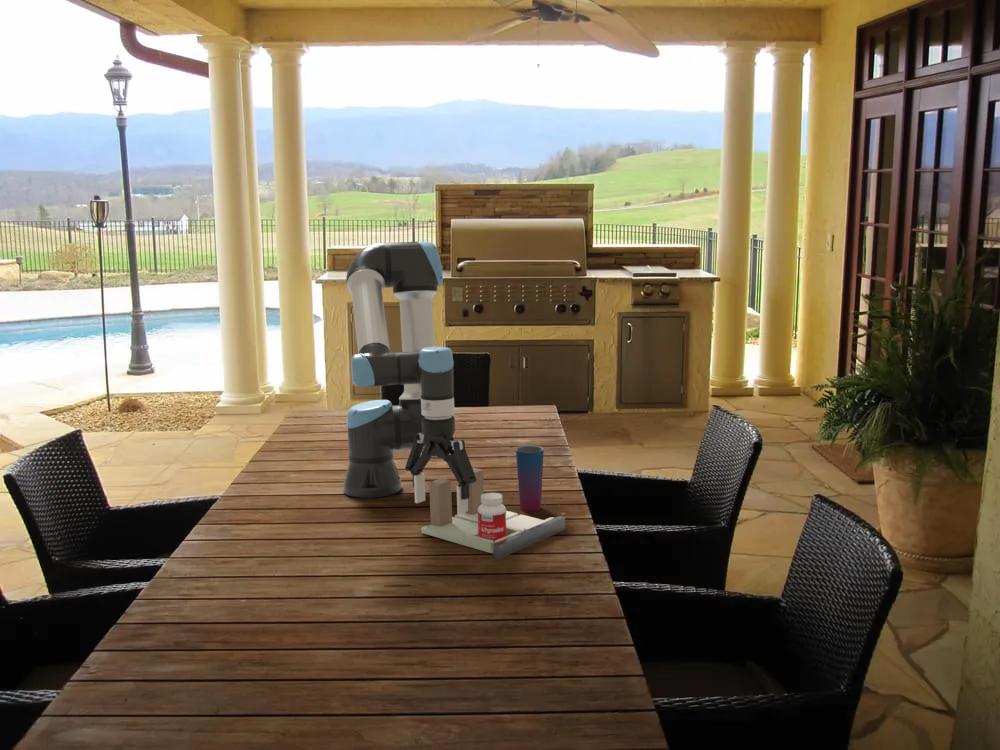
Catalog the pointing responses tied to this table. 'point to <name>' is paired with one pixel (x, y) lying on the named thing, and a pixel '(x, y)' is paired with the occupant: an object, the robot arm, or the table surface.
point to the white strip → (524, 522)
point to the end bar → (528, 537)
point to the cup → (530, 476)
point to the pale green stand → (455, 521)
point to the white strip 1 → (477, 499)
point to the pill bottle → (491, 517)
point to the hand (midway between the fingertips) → (441, 507)
